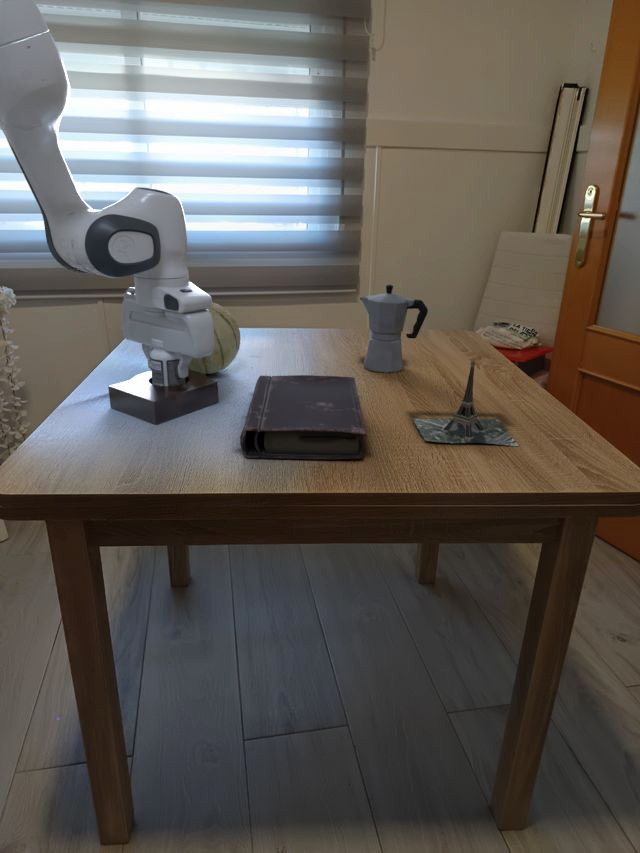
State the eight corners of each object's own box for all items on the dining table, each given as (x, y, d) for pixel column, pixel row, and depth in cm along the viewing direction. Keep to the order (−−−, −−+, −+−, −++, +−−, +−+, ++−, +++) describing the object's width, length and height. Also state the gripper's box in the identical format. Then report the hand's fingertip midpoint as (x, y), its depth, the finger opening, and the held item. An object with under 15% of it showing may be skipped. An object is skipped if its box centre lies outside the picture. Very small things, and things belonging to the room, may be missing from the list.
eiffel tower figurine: (498, 421, 99) (510, 346, 94) (519, 446, 90) (534, 363, 84) (412, 420, 98) (419, 344, 93) (424, 445, 89) (434, 361, 84)
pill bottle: (186, 386, 105) (183, 333, 102) (185, 397, 100) (182, 341, 96) (154, 387, 104) (150, 333, 101) (151, 397, 99) (146, 341, 95)
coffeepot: (347, 367, 126) (351, 284, 119) (364, 357, 134) (370, 279, 127) (413, 379, 120) (422, 292, 113) (428, 368, 127) (437, 286, 120)
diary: (239, 459, 82) (239, 426, 80) (255, 399, 105) (255, 373, 103) (370, 462, 82) (372, 430, 80) (357, 402, 105) (358, 376, 104)
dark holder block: (155, 425, 92) (154, 401, 91) (104, 405, 100) (102, 383, 98) (225, 400, 104) (224, 379, 103) (174, 384, 112) (173, 364, 110)
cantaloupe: (235, 361, 128) (234, 293, 122) (246, 381, 115) (244, 306, 109) (167, 364, 124) (162, 294, 118) (170, 385, 111) (164, 307, 105)
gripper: (108, 287, 99) (116, 365, 104) (189, 303, 88) (194, 389, 93) (138, 283, 104) (144, 358, 109) (219, 298, 93) (221, 380, 98)
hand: (168, 372), depth 101 cm, fingers closed on pill bottle, 6 cm apart
